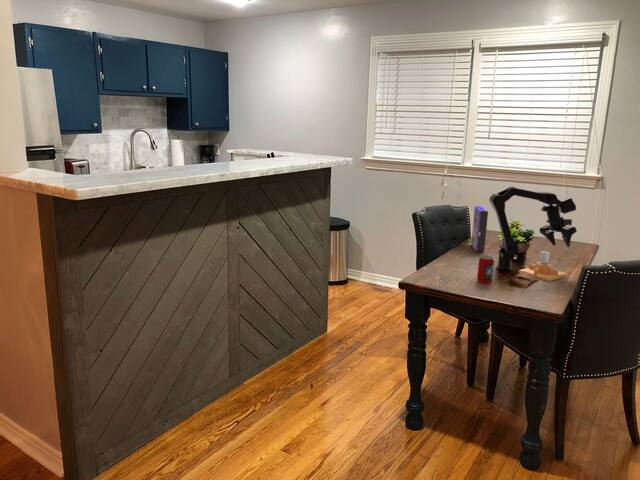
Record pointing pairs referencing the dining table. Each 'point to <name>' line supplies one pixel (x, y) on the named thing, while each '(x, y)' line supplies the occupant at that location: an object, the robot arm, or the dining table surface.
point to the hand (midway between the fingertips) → (561, 246)
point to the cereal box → (479, 228)
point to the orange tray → (543, 272)
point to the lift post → (544, 257)
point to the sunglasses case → (522, 280)
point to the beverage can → (485, 269)
